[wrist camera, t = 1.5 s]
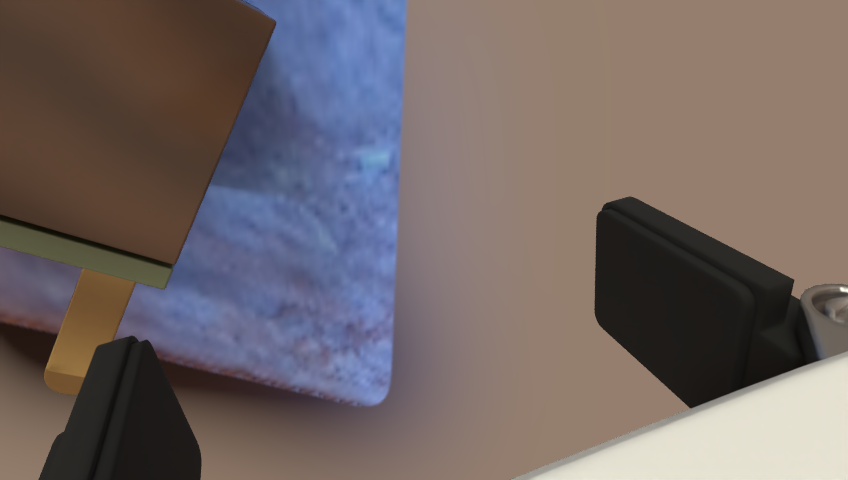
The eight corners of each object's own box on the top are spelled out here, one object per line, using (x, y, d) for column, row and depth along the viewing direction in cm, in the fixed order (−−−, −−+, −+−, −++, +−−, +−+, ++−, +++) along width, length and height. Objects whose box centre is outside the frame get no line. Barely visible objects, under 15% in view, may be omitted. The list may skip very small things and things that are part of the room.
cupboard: (195, 163, 33) (175, 266, 21) (-95, 54, 26) (-369, 109, 14) (258, 8, 30) (277, 21, 18) (-43, -154, 24) (-320, -298, 12)
